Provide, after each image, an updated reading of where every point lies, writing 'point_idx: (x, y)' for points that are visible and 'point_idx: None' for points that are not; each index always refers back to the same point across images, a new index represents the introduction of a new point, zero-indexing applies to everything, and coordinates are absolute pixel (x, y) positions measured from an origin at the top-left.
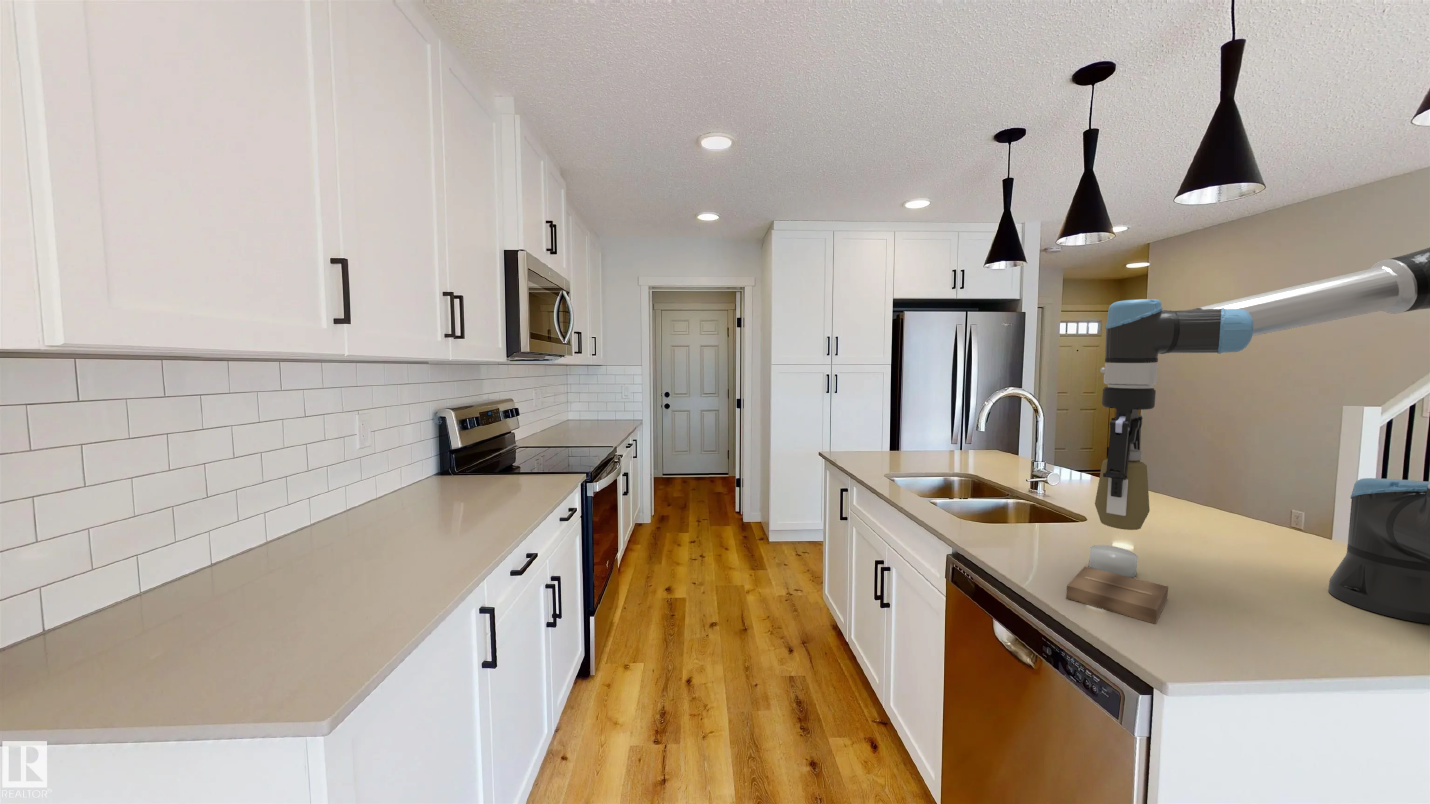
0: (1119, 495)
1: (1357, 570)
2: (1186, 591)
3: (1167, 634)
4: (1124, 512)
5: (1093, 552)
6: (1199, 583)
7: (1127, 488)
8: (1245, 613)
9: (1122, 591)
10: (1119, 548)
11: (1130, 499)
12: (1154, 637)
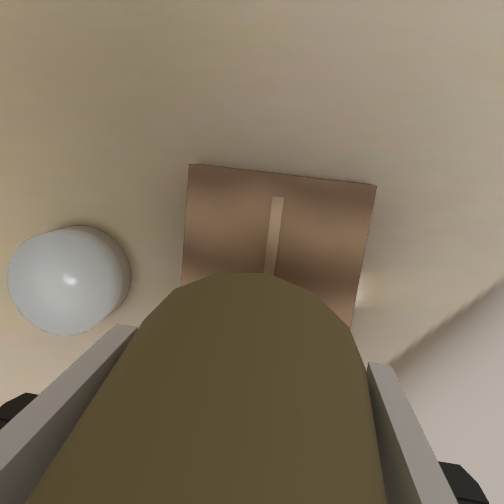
0: (469, 483)
1: None
2: (111, 126)
3: (412, 162)
4: (394, 378)
5: (93, 326)
6: (31, 100)
7: (415, 480)
8: (167, 12)
9: (300, 253)
10: (14, 274)
11: (364, 398)
12: (446, 184)
